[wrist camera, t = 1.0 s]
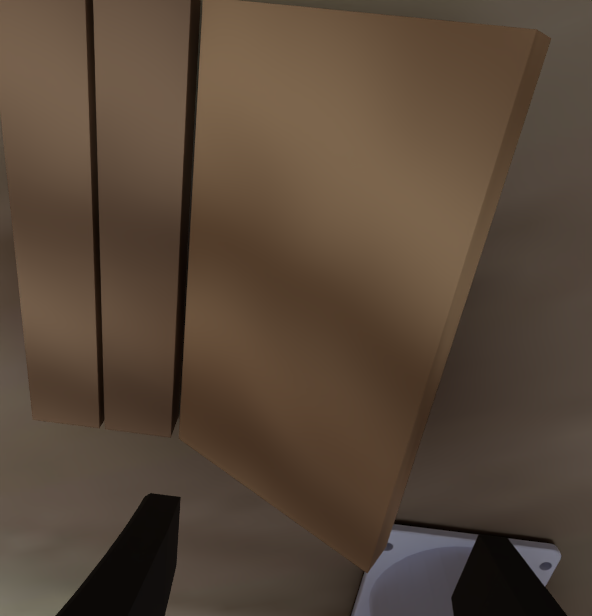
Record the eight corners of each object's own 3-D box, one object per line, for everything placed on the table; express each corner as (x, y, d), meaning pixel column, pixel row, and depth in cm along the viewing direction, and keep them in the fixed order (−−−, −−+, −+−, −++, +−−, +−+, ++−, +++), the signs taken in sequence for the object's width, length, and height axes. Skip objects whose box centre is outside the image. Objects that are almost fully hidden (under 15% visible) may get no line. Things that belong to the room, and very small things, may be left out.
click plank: (386, 547, 16) (367, 573, 15) (202, 423, 19) (178, 438, 19) (551, 38, 9) (537, 29, 9) (236, 5, 13) (203, -3, 12)
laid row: (178, 416, 20) (170, 437, 19) (48, 399, 19) (32, 419, 18) (200, 0, 14) (190, -6, 12) (10, -32, 13) (-16, -40, 12)
